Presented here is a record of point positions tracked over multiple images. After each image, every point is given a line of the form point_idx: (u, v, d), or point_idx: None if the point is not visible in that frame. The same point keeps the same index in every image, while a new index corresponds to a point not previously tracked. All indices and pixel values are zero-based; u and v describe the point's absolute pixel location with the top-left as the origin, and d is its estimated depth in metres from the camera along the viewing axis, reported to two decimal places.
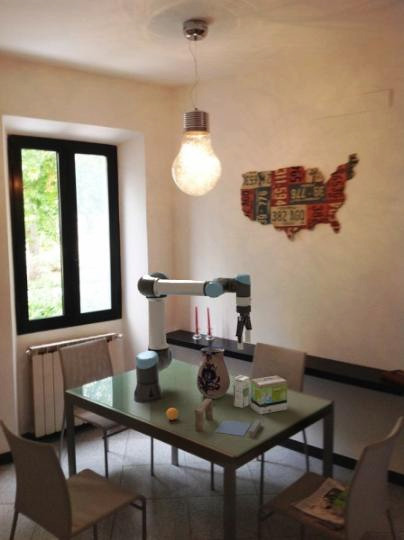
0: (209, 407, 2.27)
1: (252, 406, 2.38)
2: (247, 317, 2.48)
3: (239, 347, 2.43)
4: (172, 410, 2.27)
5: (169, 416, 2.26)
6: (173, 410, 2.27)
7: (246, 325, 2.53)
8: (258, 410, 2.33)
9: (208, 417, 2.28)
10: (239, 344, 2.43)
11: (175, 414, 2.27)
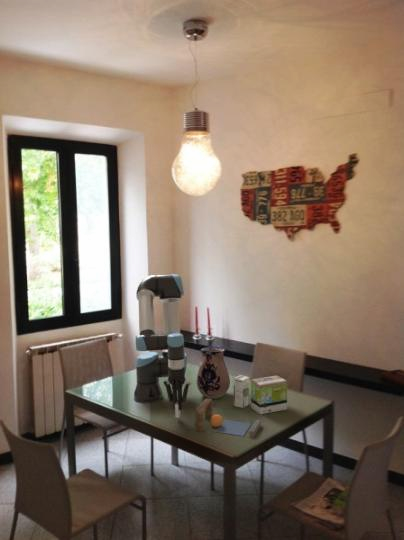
0: (209, 407, 2.27)
1: (252, 406, 2.38)
2: (176, 381, 2.24)
3: None
4: (220, 424, 2.18)
5: (213, 422, 2.17)
6: (220, 425, 2.18)
7: None
8: (258, 410, 2.33)
9: (208, 417, 2.28)
10: None
11: (216, 426, 2.19)
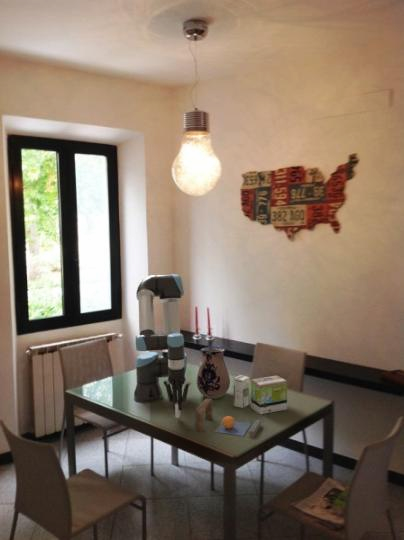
0: (209, 407, 2.27)
1: (252, 406, 2.38)
2: (176, 381, 2.24)
3: None
4: (223, 425, 2.17)
5: (226, 424, 2.15)
6: (223, 425, 2.18)
7: None
8: (258, 410, 2.33)
9: (208, 417, 2.28)
10: None
11: None
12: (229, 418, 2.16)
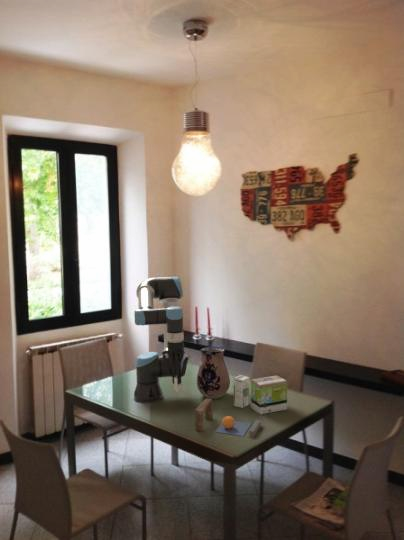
0: (209, 407, 2.27)
1: (252, 406, 2.38)
2: (175, 355, 2.22)
3: None
4: (223, 425, 2.17)
5: (226, 424, 2.15)
6: (223, 425, 2.18)
7: None
8: (258, 410, 2.33)
9: (208, 417, 2.28)
10: None
11: None
12: (229, 418, 2.16)
